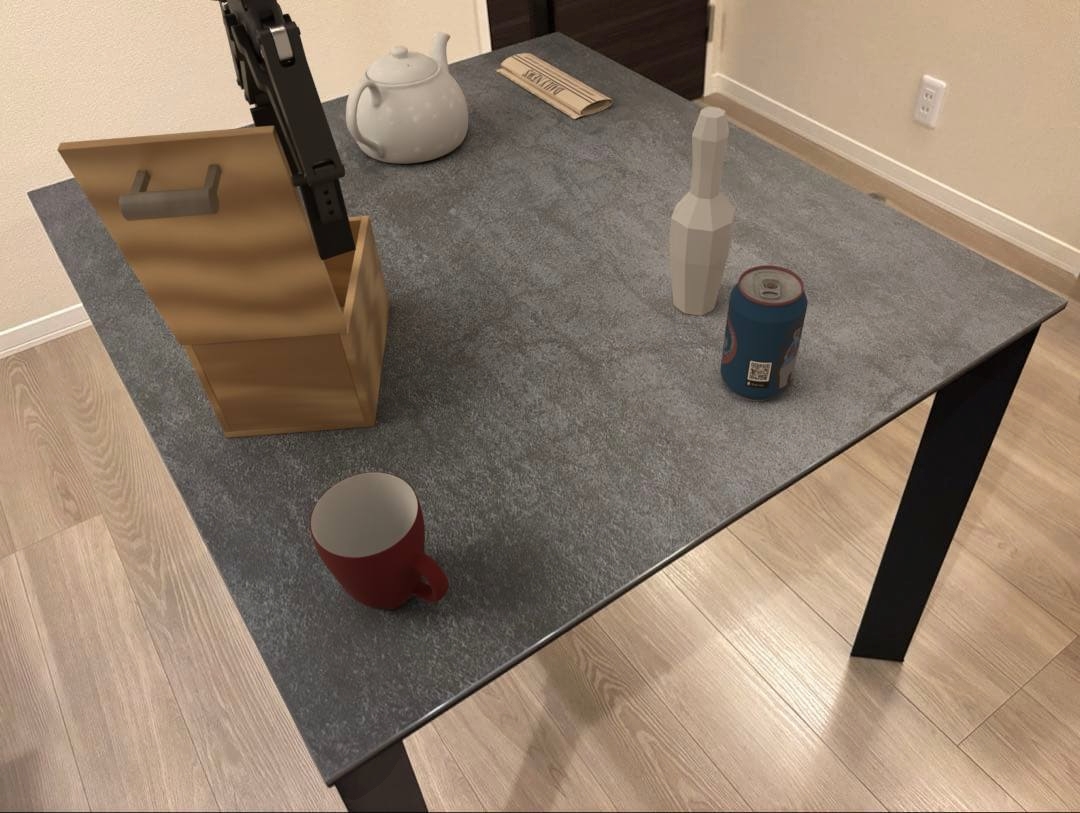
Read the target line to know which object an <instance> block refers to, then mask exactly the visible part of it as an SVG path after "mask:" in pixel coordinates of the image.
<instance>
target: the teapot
mask: <svg viewBox="0 0 1080 813" xmlns="http://www.w3.org/2000/svg"><path fill="white" fill-rule="evenodd" d="M450 39H451V35H450V34H449V33H446V32H443V31H436V32H435V33H434V35H433V38H432V41H431V44H430V49H429V55H427V54H425V53H422V52H419V51H412V50H409V49H408V47H406V45H405V46H404V45H395V46H393V47H391V49H390V50H389V52H390V53H386V54H383V55H381V56H380V57H378V58H376V59H375V60H374V61H373V62H372V63H371V64H370V65H369V66H368V67H366V69H365V70H364V71H363V73H362V77H361V79H359V80H358V81H356V82H355V83H354V84H353V85H352V87H351V88H350V91H349V93H348V96H347V100H346V107H345V121H346V122H345V123H346V127H347V130H348V132H349V134H350V135H351V137H353V139H355V142H356V144H357V145H358V147H359V149H361V151H362V152H363V153H364V154H366V155H367V156H368V157H370V158H372V159H374V160H376V161H380V162H382V163H389V164H398V165H401V164H402V165H403V164H404V165H405V164H407V165H409V164H419V163H423V162H428V161H432V160H436V159H438V158H441V157H443V156H445V155H448V154H450V153H451V152H453V151H454V150H456V149H457V148H459V146H460V145H461V144H462V143H463V142H464V140H465V138H466V136H467V133H468V129H469V110H468V104H467V100H466V97H465V95H464V92H463V90H462V89H461V86H460V85H459V84H458V82H457V81H456V80H455V78H454V77H453V76H452V75H451V74H450V69H449V64H448V63H449V62H448V55H447V48H448V47H447V46H448V42H449V40H450Z"/></svg>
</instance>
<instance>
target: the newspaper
mask: <svg viewBox="0 0 1080 813" xmlns="http://www.w3.org/2000/svg"><path fill="white" fill-rule="evenodd" d="M500 65H501V66H500V67H501V68H498V69H496V70H495V72H497V73H499V74H500V75H502V76H504V77H505V78H507V79H508V80H510V81H512V82H513V83H515V84H517V85H518V86H520V88H521V87H522V88H523V89H525V90H526V91H527V92H530V93H531V94H533V95H534V96H536V97H537V98H539V99H541V100H543V101H544V102H546V103H547V104H549V105H551V106H552V107H554V109H555V108H556V109H558V110H559V111H560V112H562V113H564V114H565V115H567V116H569V117H570V118H572V119H573V120H576V119H578V118H580V117H586V116H589V115H593V114H595V113H598V112H602V111H605V110H606V109H607V108H609V107H611V105H612V104H613V99H612V98H611V97H608V96H607V95H606V94H603V93H602V92H600V91H598V90H596V89H594V88H592V87H591V86H589V85H587V84H585V83H584V82H582V81H580V80H579V79H577V78H575V77H573V76H571V75H570V74H567V73H566V72H564V71H562V70H561V69H559V68H557V67H555V66H554V65H551V64H550V63H548V62H546V61H545V60H543V59H541V58H539V57H538V56H535V55H534V54H532V53H529V52H528V53H527V52H523V53H517V54H514V55H511V56H509V57H507V58H506V59H505V60H502V62H501V63H500Z"/></svg>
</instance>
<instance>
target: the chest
mask: <svg viewBox="0 0 1080 813" xmlns="http://www.w3.org/2000/svg"><path fill="white" fill-rule="evenodd" d="M348 219H349V223H350V227H351V231H352V235H353V239H354V243H355V247H356V250H353V251H350V252H347V253H344V254H341V255H338V256H335V257H331V258H328V259H325V260H323V261H324V264H325V267H326V270H327V272H328V275H329V278H330V281H331V283H332V286H333V289H334V292H335V294H336V297H337V300H338V303H339V305H340V308H341V311H342V314H343V316H344V319H345V322H346V325H347V331H346V333H334V334H322V335H309V336H296V337H284V338H271V339H259V340H246V341H234V342H221V343H208V344H196V345H183V349H184V350H185V353H186V355H187V357H188V359H189V361H190V363H191V365H192V368H193V370H194V371H195V374H196V376H197V379H198V380H199V382H200V384H201V386H202V389H203V391H204V394H205V395H206V398H207V399H208V401H209V403H210V406H211V407H212V409H213V412H214V415H215V416H216V418H217V420H218V423H219V425H220V427H221V428H222V431H223V433H224V435H225V438H226V439H232V438H233V439H234V438H245V437H246V438H247V437H256V436H257V437H258V436H269V435H270V436H271V435H283V434H295V433H308V432H319V431H321V432H322V431H333V430H345V429H346V430H347V429H357V428H358V429H359V428H370V427H371V428H373V427H375V426H376V420H377V418H376V417H377V411H378V403H379V396H380V395H379V394H380V387H381V380H382V379H381V378H382V372H383V371H382V370H383V365H384V364H383V363H384V357H385V356H384V355H385V348H386V340H387V334H388V325H389V317H390V309H391V302H390V299H389V298H390V297H389V295H388V289H387V286H386V282H385V277H384V273H383V268H382V265H381V260H380V255H379V251H378V246H377V242H376V238H375V235H374V230H373V226H372V221H371V217H370V215H369V214H368V215H358V216H348ZM309 223H310V222H309Z"/></svg>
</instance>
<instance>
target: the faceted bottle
mask: <svg viewBox="0 0 1080 813" xmlns="http://www.w3.org/2000/svg"><path fill="white" fill-rule="evenodd" d="M729 135H730V126H729V122H728V116H727V112H726V110H724V109H722V108H720V107H718V106H707V107H705V108H702V109H701V110H700V112H699V114H698V118H697V120H696V123H695V126H694V129H693V131H692V134H691V147H692V148H691V150H692V151H691V152H692V153H691V154H692V155H691V156H692V167H691V168H692V170H691V180H690V181H691V182H690V190H689V191H688V192H687V193H686V194H685V195H684V196H683V197H682V198H681V199H680V200H679V201H678V202H677V204H675V207H674V210H673V212H672V215H671V217H670V232H669V249H668V250H669V251H668V257H669V267H670V278H671V279H670V280H671V290H672V301H673V303H672V304H673V306H674V307H675V308H676V309H678V310H679V311H681V312H682V313H683V314H686V315H692V316H698V317H699V316H700V317H702V316H705V315H706V314H708V313H710V312H712V311H714V310H715V308H716V303H717V300H718V296H719V292H720V288H721V285H722V281H723V277H724V273H725V271H726V270H725V269H726V266H727V261H728V258H729V254H730V250H731V246H732V239H733V231H734V224H735V217H736V216H735V215H736V208H735V207H734V206H733V204H732V203H731V202H730V201H729V199H728V198H727V196H726V195H725V194H724V193H723V191H722V190H721V186H722V177H723V168H724V160H725V154H726V149H727V144H728V140H729Z"/></svg>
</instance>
